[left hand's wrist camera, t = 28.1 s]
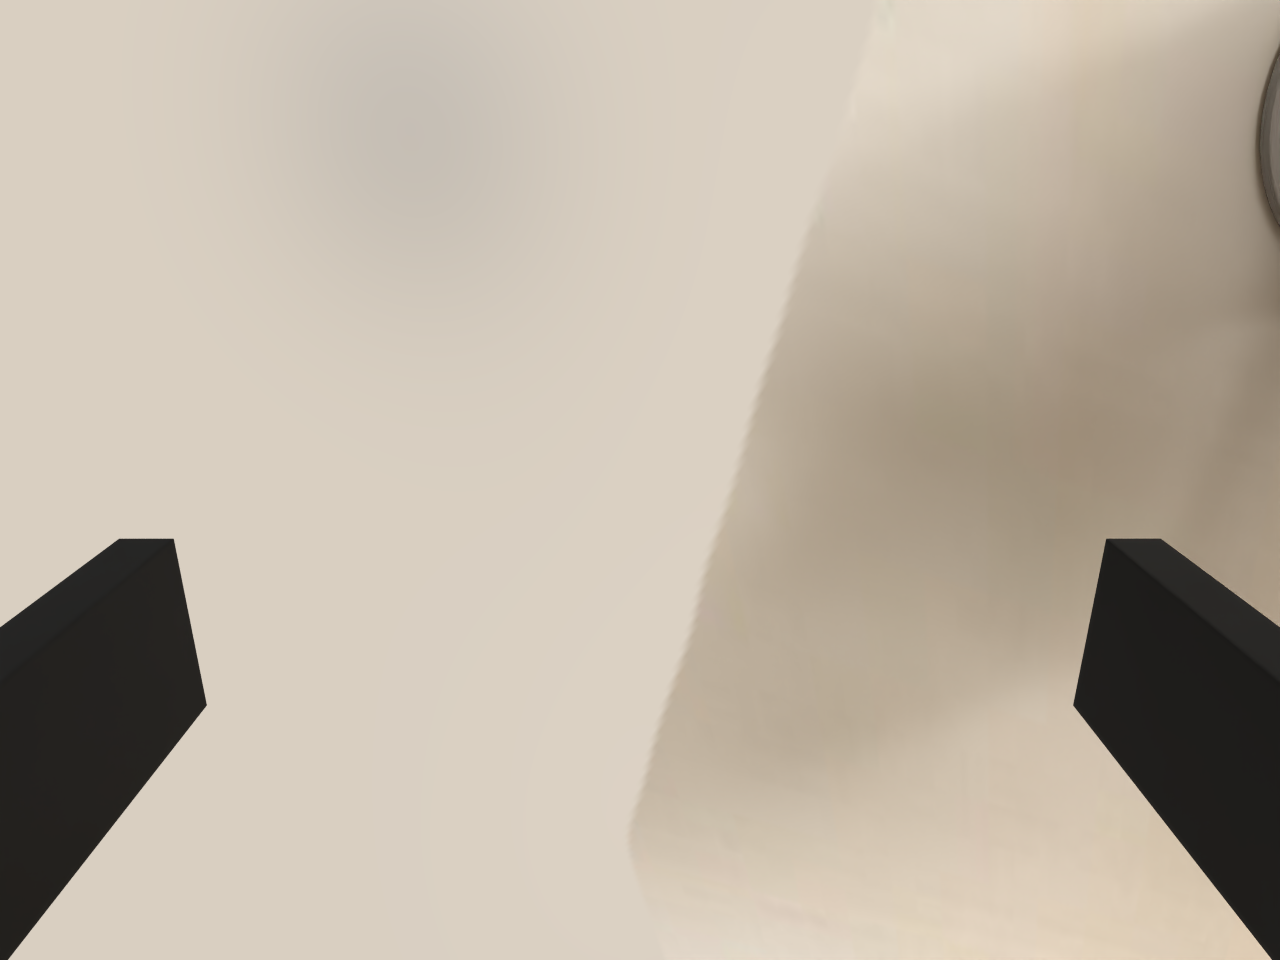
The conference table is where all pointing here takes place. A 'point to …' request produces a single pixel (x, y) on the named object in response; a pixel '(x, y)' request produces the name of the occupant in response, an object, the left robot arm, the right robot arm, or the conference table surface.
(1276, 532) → the conference table surface
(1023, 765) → the conference table surface
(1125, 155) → the conference table surface
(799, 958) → the conference table surface
